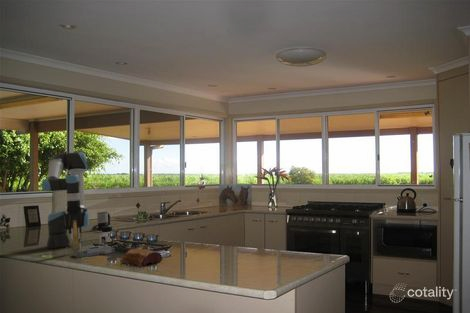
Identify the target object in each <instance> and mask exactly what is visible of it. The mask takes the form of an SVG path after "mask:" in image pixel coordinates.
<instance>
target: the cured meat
mask: <svg viewBox="0 0 470 313" xmlns="http://www.w3.org/2000/svg"><path fill="white" fill-rule="evenodd" d="M162 261H163V256H162V254H161V253H160V252H158V251H154V250H152V249H151V250H150V249H148V248H147V249H145V248H144V249H142V248H132V249H129V250H128V251H127V252H126V253H125V254H123V256H122V258H121V262H122V264H127V265H131V266H136V267H140V268H142V267H145V266H146V265H148V264H151V265H155V264H158V263H161V262H162Z"/></svg>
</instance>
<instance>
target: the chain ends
mask: <svg viewBox="0 0 470 313" xmlns="http://www.w3.org/2000/svg"><path fill="white" fill-rule="evenodd" d="M115 253H116V248H115V247H114V246H112V247H111V246H108V245H102V246H100V245H97V246H87V247H83V250H82V251H77V250H74V251H73V252H72V256H73V257H74V258H76V259H79V258H80V259H81V258H85V257H86V256H87V257H92V256H101V255H106V254H107V255H108V254H115ZM100 254H101V255H100Z"/></svg>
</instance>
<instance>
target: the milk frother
mask: <svg viewBox="0 0 470 313" xmlns="http://www.w3.org/2000/svg"><path fill="white" fill-rule="evenodd" d="M96 215H97V216H96V217H97V224H95V225H93V226H92V227H91V229H92V230H97V231H102V227H104V226H111V214H110V213H109V212H108V211H99V212H98V211H97V212H96Z"/></svg>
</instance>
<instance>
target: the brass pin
mask: <svg viewBox="0 0 470 313" xmlns="http://www.w3.org/2000/svg"><path fill="white" fill-rule="evenodd" d="M72 228H73V239H72V247H73V248H79V247H80V246H79V238H78V224H77V220H73V221H72Z"/></svg>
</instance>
